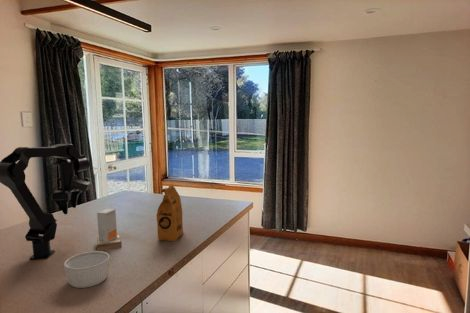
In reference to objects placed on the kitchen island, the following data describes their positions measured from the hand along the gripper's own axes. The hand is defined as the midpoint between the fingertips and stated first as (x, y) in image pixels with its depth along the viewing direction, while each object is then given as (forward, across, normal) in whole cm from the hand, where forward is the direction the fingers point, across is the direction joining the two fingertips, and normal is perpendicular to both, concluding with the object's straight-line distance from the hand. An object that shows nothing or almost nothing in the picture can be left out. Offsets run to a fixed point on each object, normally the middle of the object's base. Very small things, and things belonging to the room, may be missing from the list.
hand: (70, 210), depth 137 cm
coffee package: (+13, -2, -41) cm, 43 cm away
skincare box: (+11, -8, -17) cm, 22 cm away
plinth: (+13, -8, -17) cm, 23 cm away
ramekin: (+13, -36, -18) cm, 42 cm away
